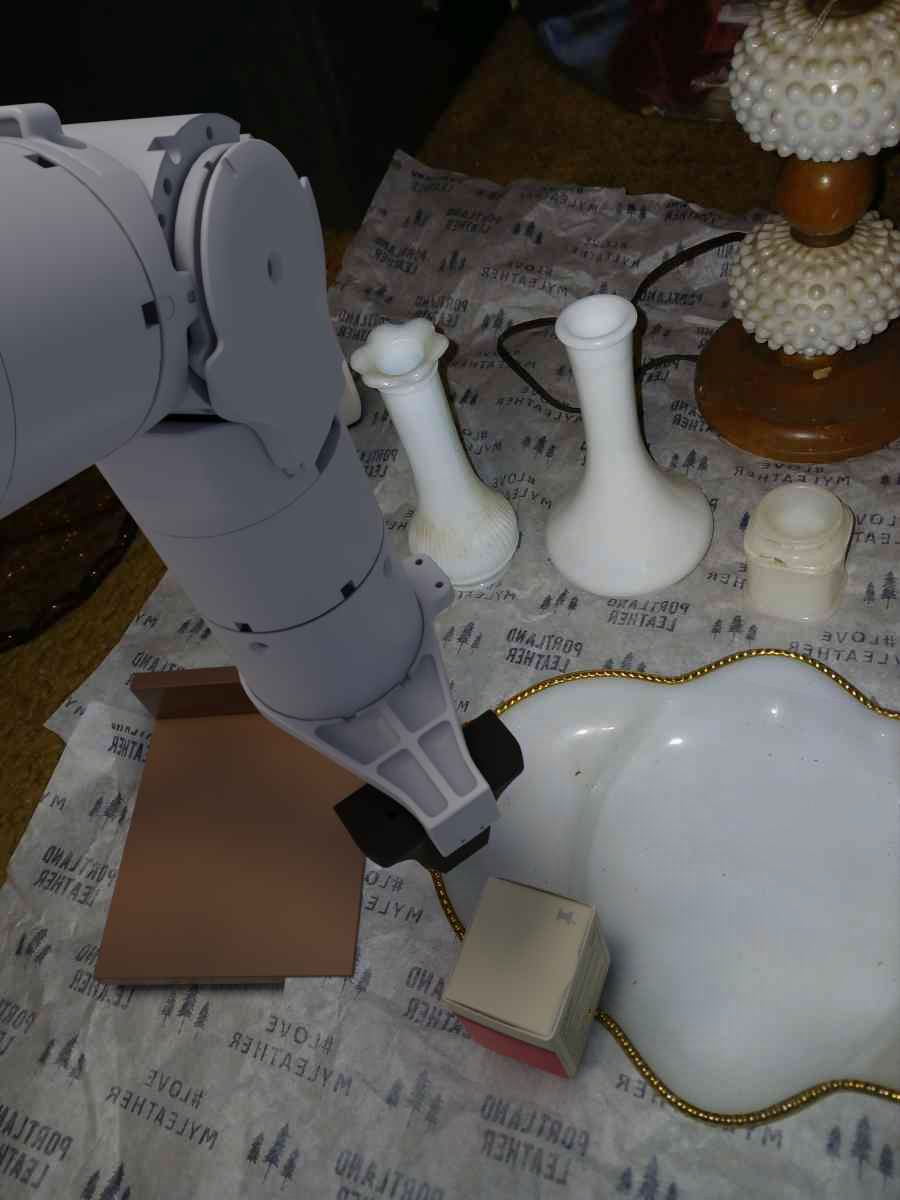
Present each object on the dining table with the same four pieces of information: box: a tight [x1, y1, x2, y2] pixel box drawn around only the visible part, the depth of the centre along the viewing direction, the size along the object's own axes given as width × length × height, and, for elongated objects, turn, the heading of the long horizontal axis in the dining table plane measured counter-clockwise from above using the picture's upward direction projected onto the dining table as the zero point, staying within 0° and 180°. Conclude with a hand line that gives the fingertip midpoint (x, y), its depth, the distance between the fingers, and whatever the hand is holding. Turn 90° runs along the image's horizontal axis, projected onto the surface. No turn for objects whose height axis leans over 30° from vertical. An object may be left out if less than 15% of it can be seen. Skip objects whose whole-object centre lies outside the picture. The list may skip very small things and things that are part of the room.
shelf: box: [92, 665, 368, 986], centre depth 50 cm, size 14×12×5 cm
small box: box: [441, 874, 612, 1080], centre depth 41 cm, size 5×4×8 cm
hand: (406, 774), depth 40 cm, fingers open, 7 cm apart
